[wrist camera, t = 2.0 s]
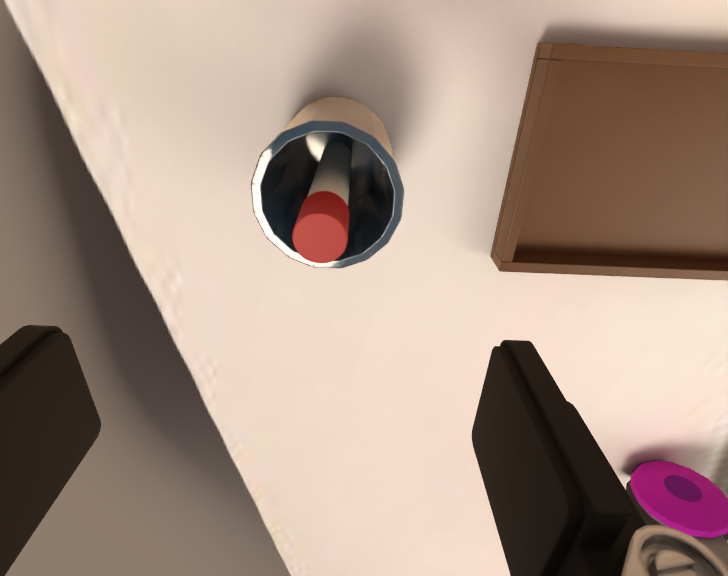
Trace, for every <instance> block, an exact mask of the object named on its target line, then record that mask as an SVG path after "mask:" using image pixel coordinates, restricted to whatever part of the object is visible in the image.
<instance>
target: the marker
mask: <svg viewBox="0 0 728 576" xmlns="http://www.w3.org/2000/svg"><path fill="white" fill-rule="evenodd" d="M351 160H352V155H351V151H350V149H349V148H348V147H347V146H346V145H345V144H344V143H341V142H332V143H330V144H328V145H327V146H326V147H325V148H324V150H323V153H322V156H321V159H320V162H319V165H318V168H317V171H316V173H315V176H314V179H313V182H312V185H311V188H310V191H309V194H308V196H307V198H306V199H305V201H304V202H303V204H302V207H301V209H300V212H299V215H298V218H297V221H296V223H295V226H294V229H293V233H292V240H293V244H294V247H295V249H296V250H297V252H298V253H299V254H300V255H301V256H302V257H303V258H305V259H307V260H309V261H311V262H314V263H328V262H331V261H334V260H336V259H337V258H339V257H340V256H341V255H342V254H343V252H344V251H345V249H346V246H347V242H348V228H349V209H348V198H349V185H350V172H351Z"/></svg>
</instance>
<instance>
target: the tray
mask: <svg viewBox="0 0 728 576" xmlns="http://www.w3.org/2000/svg"><path fill="white" fill-rule="evenodd" d="M491 258H492V259H493V261H494V263H495V265H496V266H497V268H498V269H499V271H503V272H529V273H554V274H579V275H604V276H629V277H655V278H680V279H705V280H728V53H718V52H700V51H683V50H665V49H647V48H630V47H612V46H594V45H576V44H559V43H538V44H537V48H536V52H535V57H534V61H533V66H532V70H531V75H530V79H529V84H528V89H527V93H526V98H525V102H524V107H523V111H522V116H521V120H520V125H519V129H518V134H517V138H516V143H515V147H514V152H513V156H512V161H511V165H510V170H509V174H508V179H507V183H506V188H505V192H504V197H503V202H502V206H501V211H500V215H499V220H498V224H497V229H496V233H495V238H494V242H493V247H492V251H491Z"/></svg>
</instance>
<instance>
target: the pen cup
mask: <svg viewBox="0 0 728 576" xmlns="http://www.w3.org/2000/svg"><path fill="white" fill-rule="evenodd" d="M332 142H341V143H344V144H345V145H346V146H347V147H348V148H349V149H350V151H351V155H352V160H351V172H350V185H349V198H348V209H349V228H348V242H347V246H346V249H345V251H344V252H343V254H342V255H341V256H340V257H339V258H337V259H336V260H334V261H331V262H328V263H314V262H311V261H309V260H307V259H305V258H303V257H302V256H301V255H300V254H299V253H298V252H297V250H296V249H295V247H294V244H293V240H292V233H293V229H294V226H295V223H296V221H297V218H298V215H299V212H300V209H301V207H302V204H303V202H304V201H305V199H306V198H307V196H308V194H309V191H310V188H311V185H312V182H313V179H314V176H315V173H316V171H317V168H318V165H319V162H320V159H321V156H322V153H323V150H324V148H325V147H326V146H327V145H328V144H330V143H332ZM251 191H252V202H253V211H254V214H255V216H256V218H257V220H258V222H259V224H260V226H261V228H262V230H263V232H264V234H265V235H266V237H267V238H268V239H269V240H270V241H271V242H272V243H273V244H274V245H275V246H276V247H277V248H279V249H280V250H281V251H282V252H283V253H284V254H285V255H286V256H288V257H290V258H292V259H295V260H297V261H299V262H302V263H304V264H307V265H309V266H312V267H320V268H344V267H347V266H350V265H353V264H356V263H359V262H362V261H365V260H367V259H369V258H370V257H371V256H372V255H374V254H375V253H376V252H377V251H379V250H380V249H381V248H382V247H384V246H385V245H386V244H387V243H388V242H389V240H390V238H391V237H392V235H393V233H394V231H395V229H396V227H397V226H398V224H399V222H400V220H401V217H402V207H403V197H404V187H403V184H402V181H401V177H400V174H399V171H398V167H397V164H396V160H395V157H394V154H393V150H392V147H391V144H390V141H389V138H388V134H387V131H386V128H385V126H384V125H383V124H382V122H381V121H380V119H379V118H378V117H377V116H376V115H375V114H374V112H373V111H372V110H370V109H369V108H368V107H366V106H365V105H363V104H361V103H360V102H357V101H355V100H353V99H349V98H344V97H327V98H322V99H319V100H316V101H314V102H312V103H310V104H308V105H306V106H304V107H303V108H302V110H301V111H300V112H299V113H298V114H297V115H296V116H295V117H294V118H293V119H292V120H291V121H290V122H289V123H288V124H287V125H286V127H285V128H284V129H283V130H282V131H281V132H280V133H279V134H278V135H277V137H276V138H275V139H274V140H273V141H272V142H271V143H270V144H269V145H268V147H267V148H266V149H265V150H264V151H263V152H262V153H261V155H260V157H259V160H258V163H257V166H256V169H255V172H254V175H253V178H252V181H251Z"/></svg>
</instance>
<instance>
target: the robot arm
mask: <svg viewBox="0 0 728 576" xmlns="http://www.w3.org/2000/svg"><path fill="white" fill-rule="evenodd" d="M100 428H101V421H100V418H99V415H98V413H97V410H96V407H95V404H94V401H93V399H92V396H91V393H90V391H89V388H88V385H87V383H86V380H85V377H84V374H83V372H82V369H81V366H80V363H79V361H78V358H77V356H76V353H75V350H74V347H73V344H72V342H71V339H70V337H69V336H68V335H67V334H65V333H63V332H62V330H61V329H60V328H59V327H56V326H38V325H37V326H36V325H28V326H24V327H22V328H20V329H19V330H18V331H17V332H15V333H14V334H13V335H12V336H10V337H9V338H8V339H7V340H5V342H3V343H2V344H1V345H0V576H5V574H6V573H7V571H8V570H9V568H10V567H11V565H12V564H13V562H14V561H15V559H16V558H17V556H18V555H19V554H20V552H21V551H22V549H23V547H24V546H25V545H26V543H27V541H28V540H29V539H30V537H31V536H32V534H33V532H34V531H35V530H36V528H37V527H38V525H39V523H40V522H41V520H42V519H43V518H44V516H45V515H46V513H47V512H48V510H49V508H50V507H51V506H52V504H53V503H54V501H55V500H56V498H57V497H58V495H59V494H60V492H61V491H62V489H63V488H64V486H65V485H66V483H67V482H68V480H69V479H70V477H71V476H72V474H73V473H74V471H75V470H76V468H77V467H78V465H79V464H80V462H81V461H82V459H83V458H84V456H85V455H86V453H87V452H88V450H89V449H90V447H91V446H92V445H93V443H94V441H95V440H96V439H97V437H98V435H99V432H100ZM472 442H473V447H474V451H475V454H476V457H477V461H478V464H479V468H480V471H481V475H482V478H483V481H484V485H485V488H486V492H487V495H488V499H489V502H490V506H491V509H492V512H493V516H494V519H495V523H496V526H497V530H498V533H499V536H500V540H501V543H502V547H503V550H504V554H505V557H506V561H507V564H508V567H509V571H510V574H511V576H728V567H727V566H726V565H725V563H724V562H723V561H722V560H721V559H720V558H719V557H718V556H717V555H715V554H714V553H713V552H712V551H711V550H710V549H709V548H708V547H707V546H705V545H704V544H702V543H701V542H699V541H698V540H696V539H695V538H693V537H692V536H690V535H688V534H686V533H684V532H681V531H679V530H677V529H675V528H672V527H667V526H663V525H646V523H645V521H644V520H643V518H642V517H641V515H640V513H639V512H638V510H637V508H636V507H635V505H634V503H633V502H632V500H631V498H630V497H629V495H628V493H627V492H626V490H625V488H624V487H623V485H622V484H621V482H620V480H619V479H618V477H617V475H616V474H615V472H614V470H613V469H612V467H611V465H610V464H609V462H608V460H607V459H606V457H605V456H604V454H603V452H602V451H601V449H600V447H599V446H598V444H597V442H596V441H595V439H594V437H593V436H592V434H591V432H590V431H589V429H588V427H587V426H586V424H585V423H584V421H583V419H582V418H581V416H580V414H579V413H578V411H577V410H576V408H575V407H574V406H573V404H571V403H569V402H568V401H566V399H565V398H564V396H563V394H562V393H561V391H560V389H559V388H558V386H557V384H556V382H555V381H554V379H553V377H552V376H551V374H550V372H549V371H548V369H547V367H546V366H545V364H544V362H543V361H542V359H541V357H540V355H539V354H538V352H537V350H536V349H535V347H534V345H533V344H532V343H531V342H530V341H516V340H504V341H502V343H501V345H500V346H495V347H494V348H493V350H492V353H491V357H490V361H489V365H488V369H487V373H486V377H485V381H484V385H483V389H482V393H481V397H480V401H479V405H478V409H477V413H476V417H475V421H474V425H473V429H472Z"/></svg>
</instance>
